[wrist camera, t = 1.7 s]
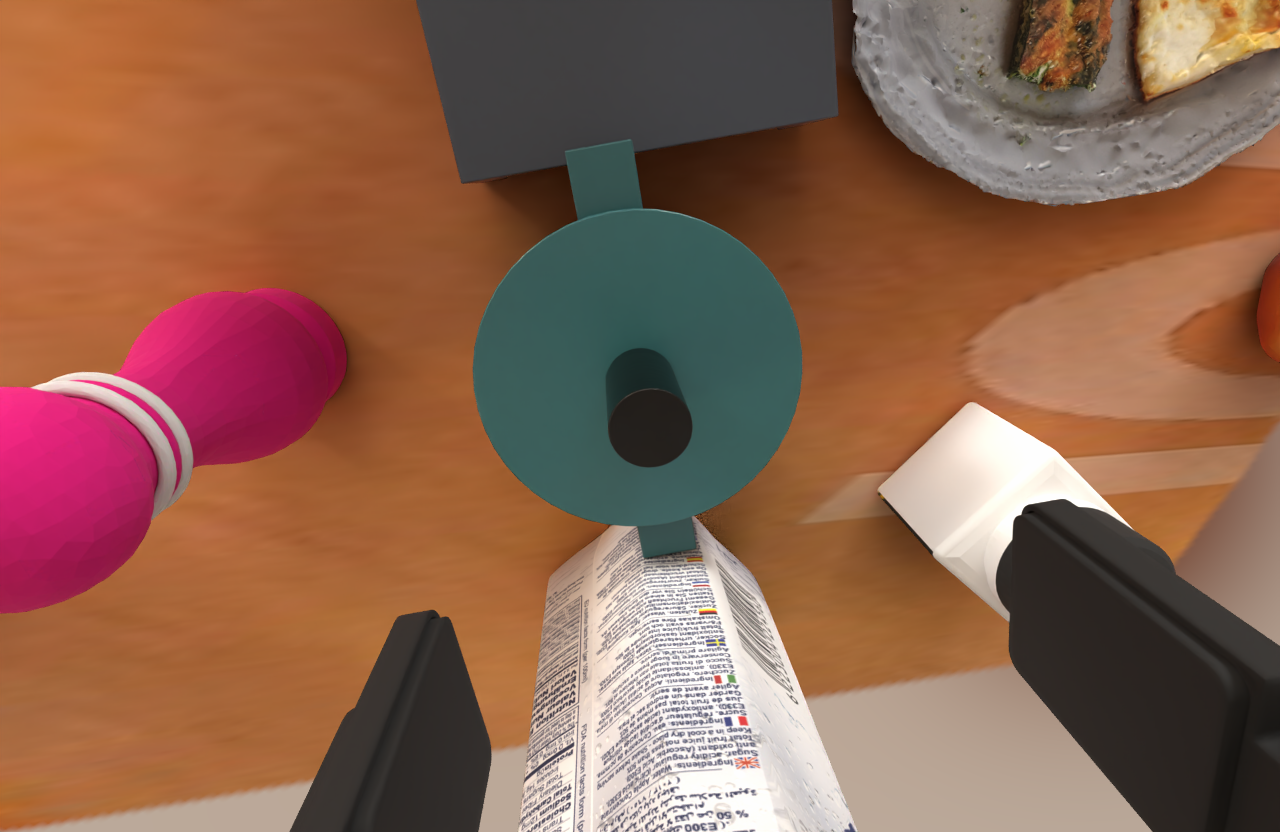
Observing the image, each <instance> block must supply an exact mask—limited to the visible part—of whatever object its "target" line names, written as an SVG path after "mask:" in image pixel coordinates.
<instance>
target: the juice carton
mask: <svg viewBox="0 0 1280 832" xmlns="http://www.w3.org/2000/svg"><path fill="white" fill-rule="evenodd" d="M692 521H693V527H694V533H695V539H696V546H697V547H696V549H693V550H687V551H682V552H676V553H671V554H665V555H660V556H654V557H649V558H644V557H643V555H642V550H641V545H640V540H639V535H638V529H637V526H618V525H611V526H610V527H609V528H608V529H607V530H606V531H605V532H604V533H602V534H601V535H600V536H599V537H597V538H596V539H595V540H593V541H592V542H591V543H590V544H588V545H587V546H585V547H584V548H583V549H581V550H580V551H579V552H577V553H576V554H575V555H574V556H572V557H571V558H570V559H569V560H567V561H566V562H565V563H564V564H563V565H561V566H560V567H559V568H558V569H557V570H556V571H555V572H554V573H553V574H552V575H551V576H550V578H549V582H548V588H547V595H546V603H545V611H544V619H543V627H542V636H541V644H540V652H539V661H538V669H537V677H536V685H535V694H534V702H533V710H532V719H531V727H530V735H529V744H528V752H527V760H526V769H525V777H524V786H523V794H522V802H521V810H520V818H519V827H518V832H858V831H857V829H856V826H855V824H854V821H853V819H852V816H851V814H850V811H849V809H848V806H847V803H846V801H845V798H844V796H843V793H842V791H841V788H840V786H839V783H838V781H837V778H836V776H835V773H834V771H833V768H832V766H831V764H830V761H829V758H828V756H827V753H826V751H825V748H824V746H823V743H822V741H821V738H820V736H819V733H818V731H817V728H816V726H815V723H814V721H813V718H812V716H811V713H810V711H809V708H808V706H807V703H806V701H805V698H804V696H803V693H802V691H801V688H800V686H799V683H798V681H797V678H796V676H795V673H794V671H793V668H792V666H791V663H790V661H789V658H788V656H787V653H786V651H785V648H784V646H783V643H782V641H781V638H780V636H779V633H778V631H777V628H776V626H775V623H774V621H773V618H772V616H771V613H770V611H769V608H768V606H767V603H766V601H765V599H764V596H763V594H762V591H761V589H760V587H759V585H758V583H757V581H756V579H755V577H754V576H753V575H752V573H751V572H750V571H749V570H748V569H747V568H746V567H745V566H744V565H743V564H742V563H741V562H740V561H739V560H738V559H737V558H736V557H735V556H734V555H733V554H732V553H731V552H729V551H728V550H727V549H726V548H725V547H724V546H723V545H722V544H720V543H719V542H718V541H717V540H716V539H715V538H714V537H713V536H712V535H711V534H710V533H709V531H708V530H707V529H706V528H705V527H704V526H703V525H702V524H701V523H700V521H699V520H698V519H697V518H696V517H695V516H692Z"/></svg>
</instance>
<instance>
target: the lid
mask: <svg viewBox="0 0 1280 832" xmlns="http://www.w3.org/2000/svg"><path fill="white" fill-rule="evenodd" d="M801 380H802V349H801V342H800V336H799V330H798V327H797V323H796V320H795V317H794V313H793V310H792V308H791V306H790V304H789V302H788V300H787V297H786V295H785V293H784V291H783V290H782V288H781V286H780V285H779V283H778V282H777V280H776V279H775V277H774V275H773V274H772V273H771V271H770V270H769V269H768V268H767V267H766V266H765V264H764V263H763V262H762V261H761V260H760V259H759V257H758V256H756V255H755V254H754V253H753V252H752V251H751V250H750V249H748V248H747V247H746V246H745V245H744V244H743V243H742V242H740V241H739V240H737V239H736V238H734V237H733V236H731V235H730V234H728V233H727V232H725V231H723V230H722V229H720V228H717V227H715V226H713V225H711V224H709V223H707V222H705V221H703V220H700V219H697V218H694V217H691V216H687V215H684V214H681V213H677V212H671V211H665V210H659V209H639V208H632V209H622V210H613V211H607V212H603V213H600V214H596V215H592V216H588V217H585V218H583V219H580V220H578V221H575V222H573V223H570V224H568V225H565V226H564V227H562V228H560V229H559V230H557V231H555V232H553V233H552V234H550V235H548V236H546V237H545V238H544V239H542V240H541V241H540V242H538V243H537V244H536V245H535V246H533V247H532V248H531V249H529V250H528V251H527V252H526V253H525V254H524V255H523V256H522V257H521V258H520V259H519V260H518V261H517V262H516V263H515V264H514V265H513V266H512V268H511V269H510V270H509V271H508V273H507V274H506V275H505V277H504V278H503V280H502V281H501V282H500V284H499V285H498V286H497V288H496V290H495V292H494V294H493V296H492V297H491V299H490V301H489V303H488V305H487V307H486V310H485V312H484V315H483V318H482V320H481V323H480V326H479V330H478V334H477V339H476V343H475V347H474V360H473V381H474V392H475V397H476V402H477V407H478V412H479V414H480V417H481V420H482V423H483V426H484V429H485V431H486V433H487V435H488V437H489V439H490V441H491V443H492V445H493V447H494V449H495V450H496V452H497V453H498V455H499V456H500V458H501V459H502V460H503V462H504V463H505V465H506V466H507V467H508V468H509V469H510V470H511V472H512V473H513V474H514V475H515V476H516V477H517V478H518V479H519V480H520V481H521V482H522V483H523V484H524V485H525V486H527V487H528V488H529V489H530V490H531V491H532V492H533V493H535V494H536V495H538V496H539V497H541V498H542V499H544V500H545V501H547V502H548V503H550V504H551V505H553V506H555V507H557V508H559V509H561V510H563V511H565V512H567V513H570V514H572V515H575V516H578V517H581V518H584V519H586V520H590V521H595V522H599V523H603V524H609V525H618V526H652V525H660V524H667V523H671V522H675V521H679V520H683V519H687V518H689V517H692V516H695V515H697V514H700V513H703V512H705V511H707V510H709V509H711V508H713V507H715V506H717V505H719V504H721V503H722V502H724V501H725V500H727V499H728V498H730V497H731V496H733V495H734V494H736V493H737V492H739V491H740V490H741V489H742V488H743V487H744V486H746V485H747V484H748V483H749V482H750V481H752V480H753V479H754V478H755V477H756V475H757V474H758V473H759V472H760V471H761V470H762V469H763V468H764V467H765V466H766V465H767V463H768V462H769V460H770V459H771V458H772V456H773V455H774V454H775V452H776V451H777V449H778V448H779V446H780V444H781V442H782V440H783V439H784V437H785V435H786V433H787V431H788V429H789V426H790V424H791V421H792V419H793V416H794V414H795V410H796V406H797V403H798V399H799V395H800V388H801Z"/></svg>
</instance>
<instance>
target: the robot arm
mask: <svg viewBox="0 0 1280 832" xmlns="http://www.w3.org/2000/svg"><path fill="white" fill-rule="evenodd" d="M1009 653H1010V657H1011V660H1012V663H1013V664H1014V666H1015V668H1016V670H1017V671H1018V672H1019V674H1020V675H1021V676H1022V677H1023V678H1024V680H1025V681H1026V682H1027V683H1028V684H1029V686H1031V688H1032V689H1033V690H1034V691H1035V693H1036V694H1037V695H1038V696H1039V697H1040V699H1041V700H1042V701H1043V702H1044V703H1045V704H1046V706H1047V707H1048V708H1049V709H1050V710H1051V712H1052V713H1053V714H1054V715H1055V716H1056V718H1057V719H1058V720H1059V721H1060V722H1061V724H1062V725H1063V726H1064V727H1065V728H1066V729H1067V731H1068V732H1069V733H1070V734H1071V735H1072V737H1073V738H1074V739H1075V740H1076V741H1077V742H1078V744H1079V745H1080V746H1081V747H1082V748H1083V749H1084V751H1085V752H1086V753H1087V754H1088V755H1089V756H1090V758H1091V759H1092V760H1093V761H1094V763H1095V764H1096V765H1097V766H1098V767H1099V769H1101V771H1102V772H1103V773H1104V775H1105V776H1106V777H1107V778H1108V779H1109V780H1110V782H1111V783H1112V784H1113V785H1114V786H1115V787H1116V789H1117V790H1118V791H1119V792H1120V793H1121V795H1122V796H1123V797H1124V798H1125V799H1126V801H1127V802H1128V803H1129V804H1130V805H1131V807H1133V809H1134V810H1135V811H1136V812H1137V814H1138V815H1139V816H1140V817H1141V818H1142V820H1143V821H1144V822H1145V823H1146V824H1147V825H1148V827H1149V828H1150V829H1151V830H1152V831H1153V832H1280V646H1279V645H1278V644H1276V643H1275V642H1273V641H1272V640H1270V639H1269V638H1267V637H1266V636H1265V635H1263V634H1262V633H1260V632H1259V631H1257V630H1256V629H1254V628H1253V627H1252V626H1250V625H1249V624H1247V623H1246V622H1244V621H1243V620H1241V619H1240V618H1238V617H1237V616H1236V615H1234V614H1233V613H1231V612H1230V611H1228V610H1227V609H1225V608H1224V607H1223V606H1221V605H1220V604H1218V603H1217V602H1215V601H1214V600H1212V599H1211V598H1210V597H1208V596H1207V595H1205V594H1203V593H1202V592H1201V591H1199V590H1198V589H1196V588H1195V587H1194V586H1192V585H1191V584H1189V583H1188V582H1186V581H1185V580H1183V579H1182V578H1181V577H1179V576H1178V575H1176V574H1175V573H1173V572H1172V571H1170V570H1169V569H1168V568H1166V567H1165V566H1163V565H1162V564H1160V563H1159V562H1157V561H1156V560H1155V559H1153V558H1152V557H1150V556H1149V555H1147V554H1146V553H1144V552H1143V551H1142V550H1140V549H1139V548H1137V547H1136V546H1134V545H1133V544H1131V543H1130V542H1128V541H1127V540H1126V539H1124V538H1123V537H1121V536H1120V535H1118V534H1117V533H1115V532H1114V531H1113V530H1111V529H1110V528H1108V527H1107V526H1105V525H1104V524H1102V523H1101V522H1100V521H1098V520H1097V519H1095V518H1094V517H1092V516H1091V515H1089V514H1088V513H1087V512H1085V511H1084V510H1082V509H1081V508H1079V507H1078V506H1076V505H1075V504H1073V503H1072V502H1071V501H1069V500H1066V499H1056V500H1050V501H1045V502H1039V503H1033V504H1028V505H1026V506H1025V507H1024V508H1023V510H1022V513H1021V515H1018V516H1016V517H1015V519H1014V521H1013V534H1012V563H1011V592H1010V621H1009ZM490 766H491V744H490V739H489V736H488V733H487V730H486V727H485V724H484V720H483V717H482V714H481V711H480V708H479V705H478V702H477V699H476V696H475V693H474V690H473V687H472V684H471V681H470V677H469V674H468V671H467V668H466V665H465V662H464V659H463V656H462V653H461V650H460V647H459V644H458V641H457V637H456V634H455V631H454V628H453V625H452V623H451V620H450V619H449V617H441V618H440V617H439V614H438V613H437V612H436V611H435V610H429V611H423V612H417V613H412V614H406V615H401V616H399V617H397V619H396V620H395V622H394V624H393V627H392V629H391V631H390V633H389V635H388V637H387V640H386V642H385V644H384V646H383V648H382V650H381V653H380V655H379V657H378V659H377V661H376V663H375V666H374V668H373V670H372V672H371V674H370V676H369V679H368V681H367V683H366V685H365V687H364V689H363V692H362V694H361V696H360V698H359V700H358V702H357V704H356V707H355V708H353V709H352V710H351V711H349V712H348V713H347V714H346V716H345V717H344V719H343V721H342V722H341V725H340V727H339V729H338V731H337V733H336V735H335V737H334V739H333V741H332V743H331V746H330V748H329V750H328V752H327V754H326V756H325V758H324V760H323V762H322V765H321V767H320V769H319V771H318V773H317V775H316V777H315V779H314V781H313V784H312V786H311V788H310V790H309V792H308V794H307V796H306V798H305V800H304V803H303V805H302V807H301V809H300V811H299V813H298V815H297V817H296V819H295V821H294V824H293V826H292V828H291V830H290V832H478V830H479V825H480V819H481V814H482V809H483V804H484V798H485V792H486V787H487V782H488V777H489V771H490Z"/></svg>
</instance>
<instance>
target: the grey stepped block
mask: <svg viewBox="0 0 1280 832" xmlns="http://www.w3.org/2000/svg"><path fill="white" fill-rule="evenodd" d="M416 2H417V6H418V10H419V14H420V18H421V22H422V26H423V30H424V34H425V38H426V42H427V46H428V50H429V54H430V58H431V62H432V66H433V71H434V75H435V79H436V83H437V87H438V91H439V95H440V99H441V103H442V107H443V111H444V115H445V119H446V123H447V127H448V131H449V135H450V139H451V143H452V147H453V151H454V155H455V159H456V163H457V167H458V171H459V175H460V179H461V183H463V184H464V183H484V182H489V181H495V180H501V179H506V178H507V176H512V175H517V174H523V173H529V172H534V171H540V170H545V169H551V168H556V167H562V166H567V161H566V156H565V151H567V150H572V149H578V148H583V147H589V146H595V145H600V144H606V143H611V142H617V141H623V140H628V139H631V140H632V142H633V148H634V154H635V153H640V152H646V151H651V150H657V149H663V148H668V147H674V146H679V145H685V144H691V143H696V142H702V141H707V140H713V139H718V138H724V137H730V136H735V135H741V134H746V133H752V132H758V131H763V130H769V129H774V128H777V129H778V130H780V129H785V128H791V127H797V126H802V125H805V124H809V123H813V122H817V121H821V120H825V119H830V118H833V117H837V116H838V99H837V81H836V63H835V46H834V28H833V10H832V0H416Z"/></svg>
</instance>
